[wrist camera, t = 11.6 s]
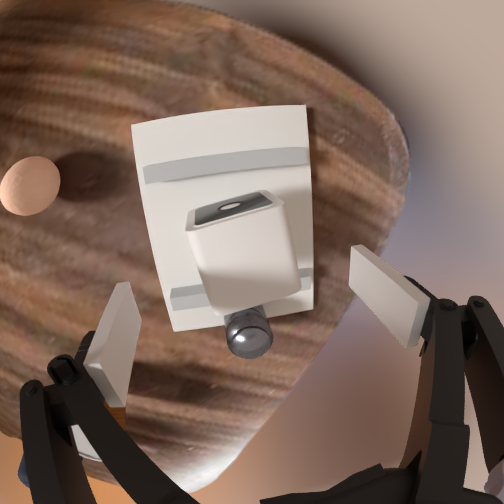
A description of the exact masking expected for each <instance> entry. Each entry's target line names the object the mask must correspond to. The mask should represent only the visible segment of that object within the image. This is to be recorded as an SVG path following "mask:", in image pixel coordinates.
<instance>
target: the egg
mask: <svg viewBox="0 0 504 504" xmlns="http://www.w3.org/2000/svg"><path fill="white" fill-rule="evenodd" d="M59 187H60V174H59V171H58V169H57V167H56V166H55V164H54V163H53V162H52V161H50V160H49V159H47V158H44V157H40V156H32V157H28V158H25V159H23V160H21V161H19V162H17V163H16V164H14V165H13V166H12V167H11V168H10V170H9V171H8V172H7V173H6V175H5V176H4V178H3V180H2V182H1V186H0V198H1V202H2V204H3V205H4V207H5V208H6V209H7V210H8V211H10V212H12V213H14V214H17V215H23V216H25V215H32V214H36V213H38V212H40V211H43V210H44V209H45V208H47V207H48V206H49V205H50V204H51V203H52V202H53V201H54V199H55V198H56V196H57V194H58V191H59Z"/></svg>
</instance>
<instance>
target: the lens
mask: <svg viewBox="0 0 504 504" xmlns="http://www.w3.org/2000/svg"><path fill="white" fill-rule="evenodd" d="M224 323H225V330H226V337H227V344H228V348H229V350H230V351H231V352H232V353H233V354H235V355H237V356H239V357H241V358H245V359H253V358H257V357H260V356H262V355H263V354H264V353H266V352H267V350H268V349H269V348H270V346H271V345H272V342H273V334H272V331H271V328H270V325H269V322H268V320H267V317H266V314H265V311H264V308H263V306H262V304H261V305H258V306H254V307H251V308H248V309H245V310H241V311H238V312H234V313H231V314H228V315H224Z"/></svg>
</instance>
